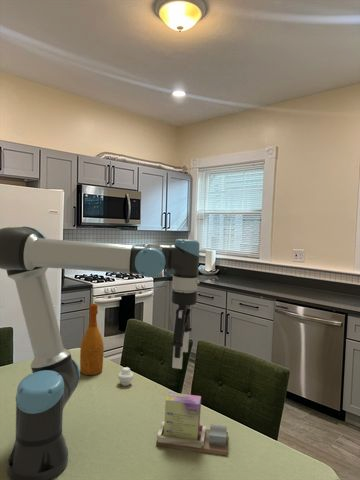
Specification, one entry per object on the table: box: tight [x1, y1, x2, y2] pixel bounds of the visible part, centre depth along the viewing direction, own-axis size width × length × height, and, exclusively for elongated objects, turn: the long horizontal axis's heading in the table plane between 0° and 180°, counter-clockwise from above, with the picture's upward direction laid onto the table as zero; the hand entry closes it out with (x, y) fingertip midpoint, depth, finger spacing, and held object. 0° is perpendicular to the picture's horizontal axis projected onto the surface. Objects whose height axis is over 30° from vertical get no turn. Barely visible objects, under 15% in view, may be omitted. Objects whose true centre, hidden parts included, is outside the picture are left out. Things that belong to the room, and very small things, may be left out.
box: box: [164, 391, 202, 440], centre depth 111 cm, size 10×6×12 cm, turn 81°
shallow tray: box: [155, 419, 229, 456], centre depth 110 cm, size 10×21×4 cm, turn 81°
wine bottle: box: [79, 303, 105, 376], centre depth 156 cm, size 10×10×30 cm
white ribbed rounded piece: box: [117, 366, 134, 387], centre depth 146 cm, size 6×6×7 cm
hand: (180, 359), depth 110 cm, fingers open, 13 cm apart
